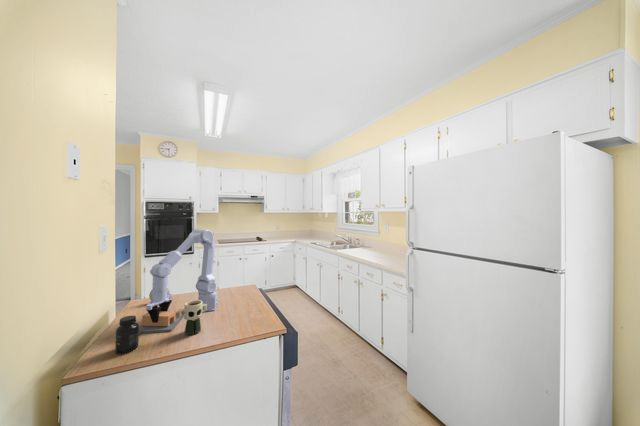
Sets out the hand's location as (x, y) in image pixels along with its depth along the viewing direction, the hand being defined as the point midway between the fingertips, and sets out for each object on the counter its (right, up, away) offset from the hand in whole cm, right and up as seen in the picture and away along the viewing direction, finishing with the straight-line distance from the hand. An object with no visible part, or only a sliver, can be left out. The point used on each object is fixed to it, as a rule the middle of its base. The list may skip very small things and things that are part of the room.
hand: (159, 319), depth 106 cm
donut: (-19, -3, +27) cm, 33 cm away
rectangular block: (0, -2, 0) cm, 2 cm away
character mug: (+18, -4, -5) cm, 19 cm away
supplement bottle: (0, -3, -18) cm, 19 cm away
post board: (0, -3, 0) cm, 3 cm away
